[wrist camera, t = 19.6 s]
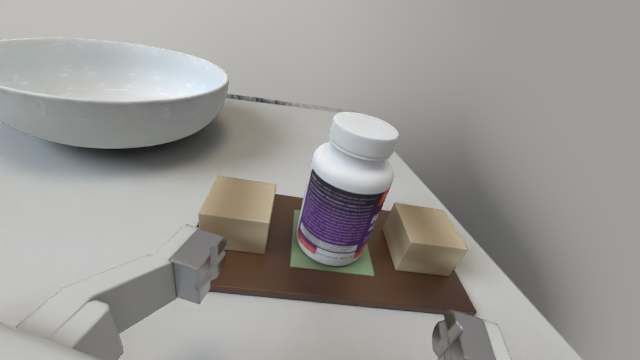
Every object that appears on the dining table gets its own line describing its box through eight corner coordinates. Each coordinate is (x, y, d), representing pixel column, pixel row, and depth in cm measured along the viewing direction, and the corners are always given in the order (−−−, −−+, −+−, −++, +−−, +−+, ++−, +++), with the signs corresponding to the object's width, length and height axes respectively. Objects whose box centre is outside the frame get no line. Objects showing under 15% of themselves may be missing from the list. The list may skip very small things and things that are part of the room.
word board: (423, 220, 28) (439, 191, 26) (473, 317, 19) (501, 285, 17) (216, 190, 25) (217, 155, 23) (169, 287, 16) (164, 245, 15)
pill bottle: (370, 271, 20) (426, 152, 15) (295, 266, 19) (327, 136, 14) (355, 220, 24) (394, 115, 19) (294, 213, 23) (318, 101, 18)
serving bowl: (233, 106, 42) (235, 58, 38) (215, 188, 25) (216, 116, 21) (68, 84, 36) (51, 25, 33) (-98, 169, 20) (-169, 68, 16)
